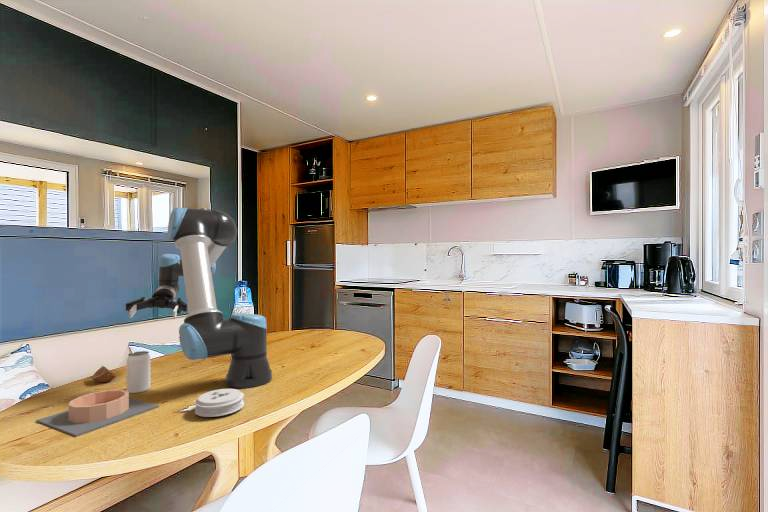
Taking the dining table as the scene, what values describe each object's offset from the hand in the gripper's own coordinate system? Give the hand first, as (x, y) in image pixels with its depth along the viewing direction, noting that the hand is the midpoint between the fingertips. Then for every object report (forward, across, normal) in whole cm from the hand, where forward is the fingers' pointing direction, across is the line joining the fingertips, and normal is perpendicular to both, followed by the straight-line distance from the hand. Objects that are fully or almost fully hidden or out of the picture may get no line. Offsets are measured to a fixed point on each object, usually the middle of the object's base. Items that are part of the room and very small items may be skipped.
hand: (152, 314), depth 134 cm
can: (+18, 0, -20) cm, 27 cm away
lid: (+45, -25, -12) cm, 53 cm away
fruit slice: (+4, +13, -24) cm, 27 cm away
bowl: (+36, +5, -16) cm, 39 cm away
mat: (+36, +5, -16) cm, 39 cm away
